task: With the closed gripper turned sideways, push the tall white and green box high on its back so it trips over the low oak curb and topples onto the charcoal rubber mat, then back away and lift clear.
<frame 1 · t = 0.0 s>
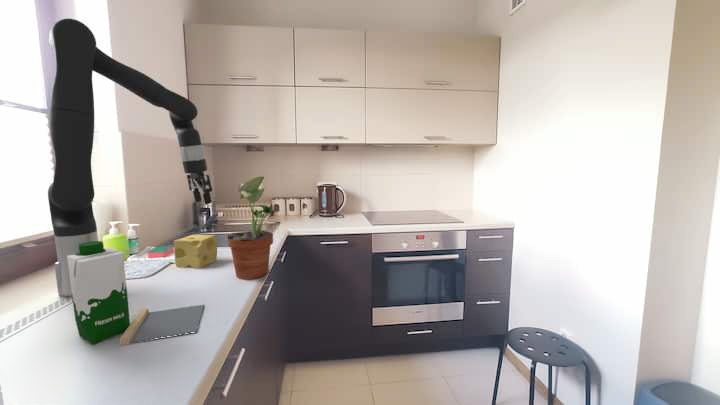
hand: (203, 202, 118), 22 cm above the countertop, tool pointing down, fingers open, 8 cm apart
potted plant: (253, 273, 107), on the countertop
cheese: (196, 264, 118), on the countertop
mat: (167, 323, 74), on the countertop
white and green box: (105, 333, 70), on the countertop
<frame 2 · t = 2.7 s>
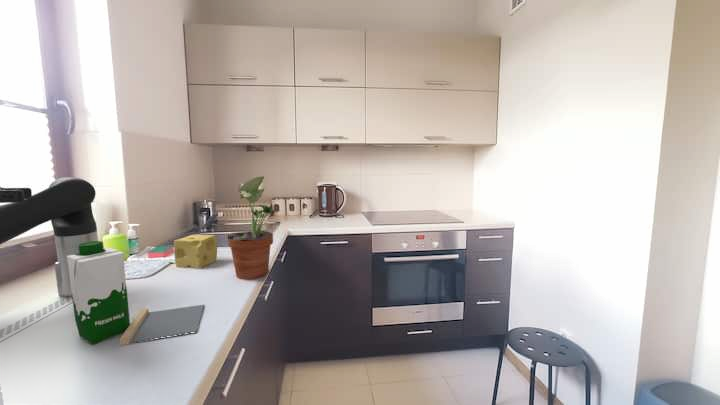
hand: (27, 194, 62), 31 cm above the countertop, tool horizontal, fingers open, 8 cm apart
nothing on the countertop moved.
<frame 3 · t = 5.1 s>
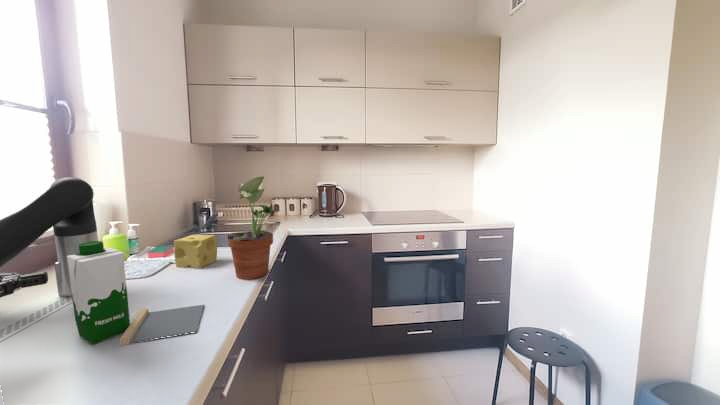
hand: (47, 277, 65), 14 cm above the countertop, tool horizontal, fingers closed
nothing on the countertop moved.
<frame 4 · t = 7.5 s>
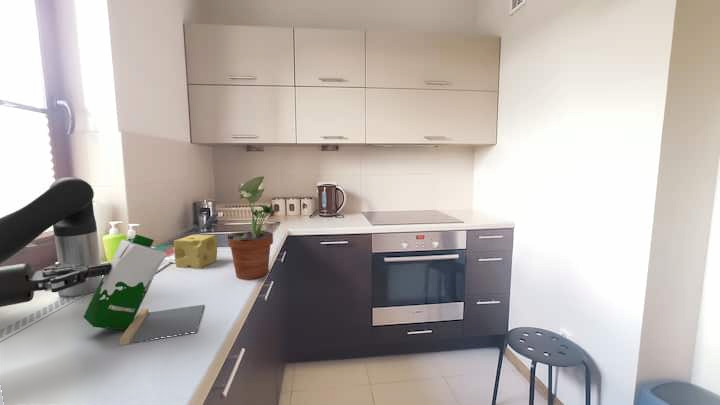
hand: (111, 268, 71), 14 cm above the countertop, tool horizontal, fingers closed
white and green box: (105, 325, 70), point 2 cm above the countertop
everything else where it was.
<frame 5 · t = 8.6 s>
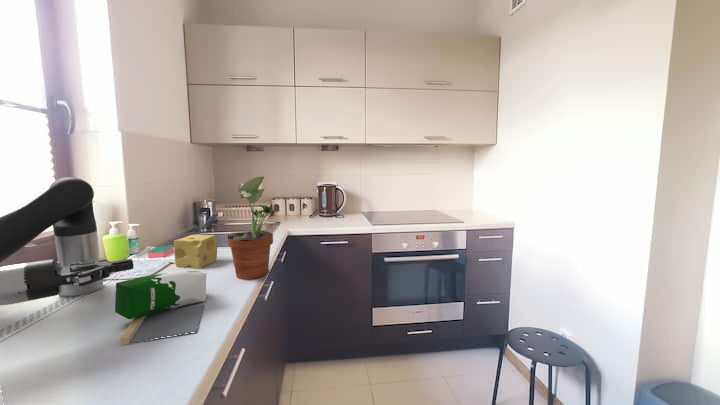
hand: (132, 263, 74), 14 cm above the countertop, tool horizontal, fingers closed
white and green box: (121, 301, 72), point 6 cm above the countertop, touching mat
everything else where it was.
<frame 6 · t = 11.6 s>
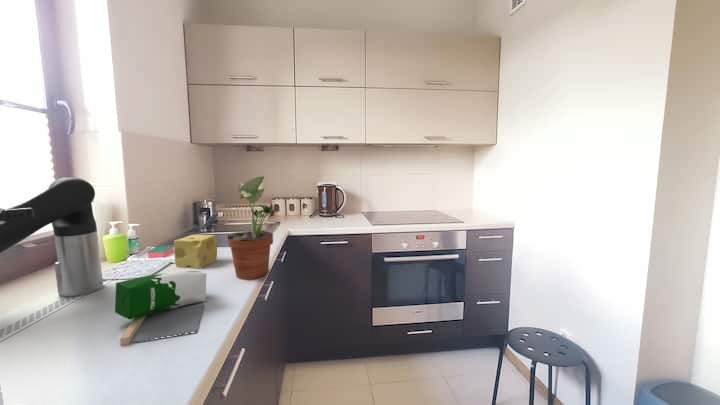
hand: (33, 213, 62), 27 cm above the countertop, tool horizontal, fingers closed
nothing on the countertop moved.
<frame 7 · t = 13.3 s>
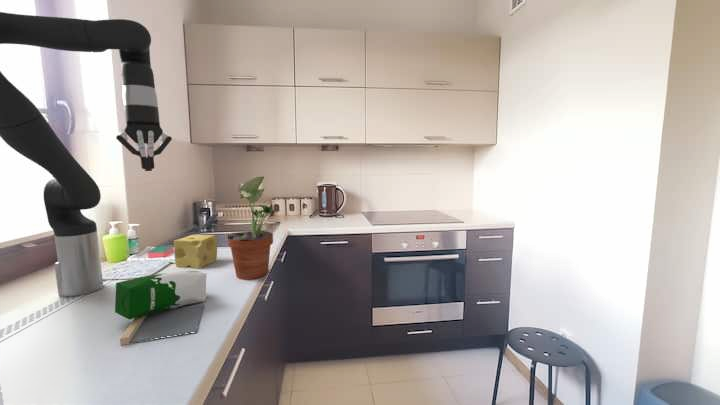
hand: (148, 170, 87), 35 cm above the countertop, tool pointing down, fingers closed
nothing on the countertop moved.
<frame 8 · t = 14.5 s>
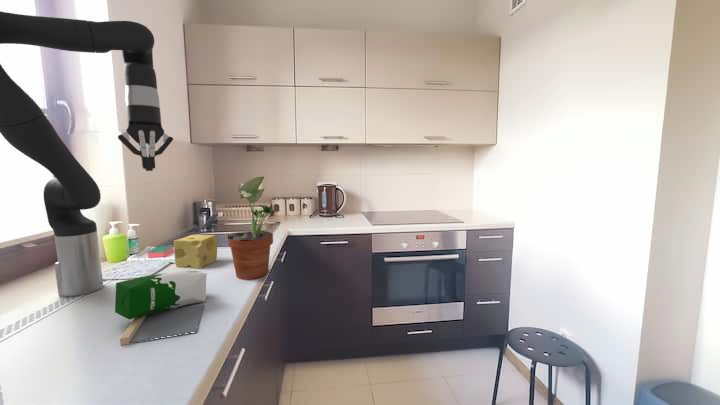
hand: (149, 170, 87), 35 cm above the countertop, tool pointing down, fingers closed
nothing on the countertop moved.
at the end: white and green box tilted 97°; white and green box touching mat, countertop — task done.
